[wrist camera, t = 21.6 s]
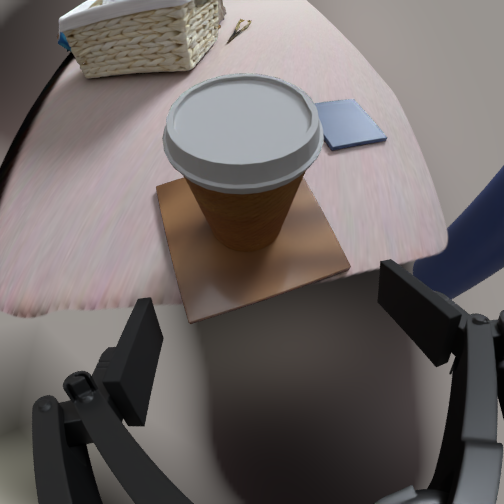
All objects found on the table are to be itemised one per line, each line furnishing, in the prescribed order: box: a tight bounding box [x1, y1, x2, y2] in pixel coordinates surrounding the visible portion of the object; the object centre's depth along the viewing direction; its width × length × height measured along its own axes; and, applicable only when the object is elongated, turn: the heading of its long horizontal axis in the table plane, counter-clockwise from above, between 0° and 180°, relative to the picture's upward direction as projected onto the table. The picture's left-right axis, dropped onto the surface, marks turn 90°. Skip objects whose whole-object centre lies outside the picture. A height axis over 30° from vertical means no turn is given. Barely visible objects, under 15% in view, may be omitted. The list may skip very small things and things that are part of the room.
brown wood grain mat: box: [156, 177, 351, 324], centre depth 26 cm, size 14×14×1 cm
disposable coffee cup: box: [162, 73, 324, 252], centre depth 21 cm, size 10×10×12 cm
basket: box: [59, 0, 219, 78], centre depth 35 cm, size 24×16×15 cm
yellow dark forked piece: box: [227, 19, 251, 43], centre depth 44 cm, size 12×3×1 cm, turn 162°
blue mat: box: [314, 99, 387, 150], centre depth 32 cm, size 8×8×1 cm
